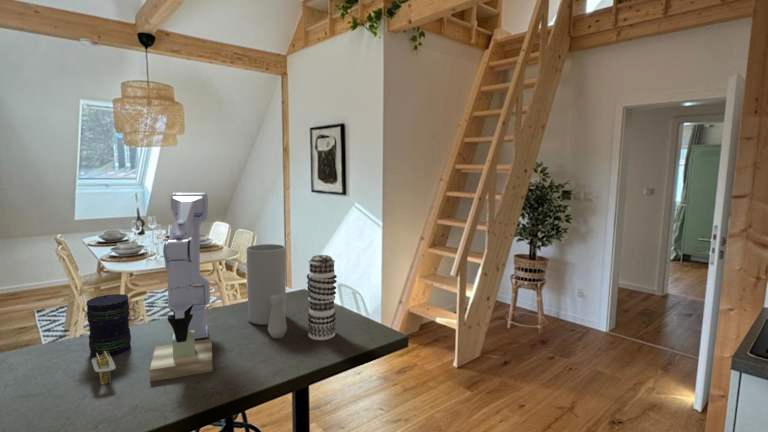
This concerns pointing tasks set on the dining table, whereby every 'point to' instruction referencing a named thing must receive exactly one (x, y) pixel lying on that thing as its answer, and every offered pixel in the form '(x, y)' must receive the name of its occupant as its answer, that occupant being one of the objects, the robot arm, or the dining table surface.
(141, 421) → the dining table surface
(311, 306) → the black white patterned cylinder
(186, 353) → the green cube
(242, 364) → the dining table surface
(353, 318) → the dining table surface
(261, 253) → the cylinder vase
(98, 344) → the storage jar
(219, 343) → the dining table surface
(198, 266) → the robot arm
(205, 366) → the birch base
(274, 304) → the salt shaker
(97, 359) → the platform
